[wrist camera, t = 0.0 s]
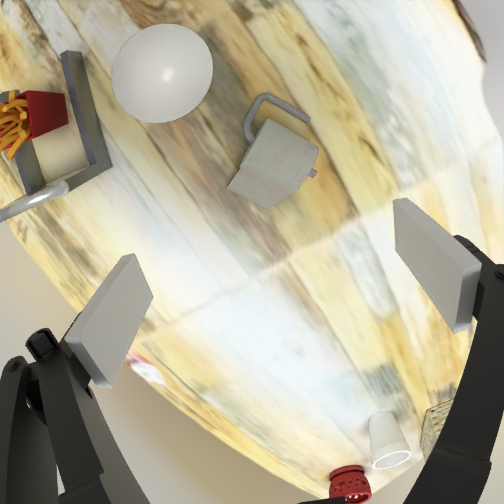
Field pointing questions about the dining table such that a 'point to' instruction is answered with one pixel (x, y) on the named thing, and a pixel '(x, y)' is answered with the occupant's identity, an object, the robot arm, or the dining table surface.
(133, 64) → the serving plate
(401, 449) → the foam cup
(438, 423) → the storage basket
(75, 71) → the gray bracket
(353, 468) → the plant pot
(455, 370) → the dining table surface
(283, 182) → the toilet paper roll
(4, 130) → the french fries
